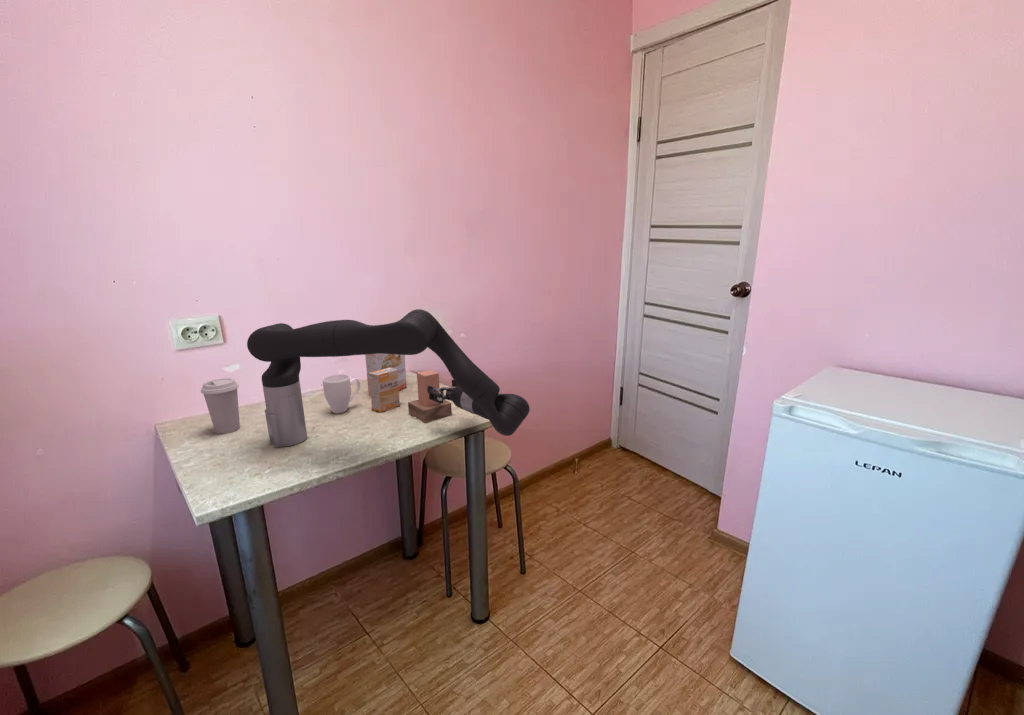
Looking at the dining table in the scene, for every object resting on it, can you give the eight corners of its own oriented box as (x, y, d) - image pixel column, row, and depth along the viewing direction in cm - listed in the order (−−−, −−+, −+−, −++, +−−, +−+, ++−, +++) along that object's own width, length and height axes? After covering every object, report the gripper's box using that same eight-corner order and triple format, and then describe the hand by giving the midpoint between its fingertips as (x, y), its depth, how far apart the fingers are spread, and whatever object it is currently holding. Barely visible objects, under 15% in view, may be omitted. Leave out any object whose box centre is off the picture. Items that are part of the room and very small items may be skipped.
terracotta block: (426, 406, 145) (424, 376, 142) (418, 402, 148) (416, 372, 146) (440, 402, 148) (438, 373, 145) (432, 398, 152) (430, 369, 149)
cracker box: (379, 398, 164) (374, 341, 159) (368, 395, 167) (362, 339, 162) (408, 388, 175) (404, 334, 170) (396, 385, 179) (392, 332, 173)
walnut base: (424, 422, 142) (423, 410, 141) (408, 413, 150) (407, 402, 149) (451, 414, 149) (451, 403, 148) (435, 406, 156) (434, 395, 155)
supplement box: (380, 413, 151) (377, 374, 147) (371, 410, 154) (368, 372, 150) (400, 405, 157) (397, 368, 154) (391, 403, 160) (388, 366, 157)
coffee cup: (212, 425, 142) (203, 379, 138) (247, 421, 146) (239, 375, 142) (205, 438, 134) (195, 389, 130) (243, 432, 137) (234, 384, 133)
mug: (333, 417, 147) (329, 383, 144) (322, 411, 153) (318, 378, 150) (367, 407, 156) (364, 375, 153) (355, 401, 161) (352, 370, 158)
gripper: (491, 380, 133) (459, 369, 145) (450, 392, 124) (419, 379, 136) (492, 405, 135) (460, 392, 147) (451, 418, 126) (421, 403, 138)
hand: (440, 385), depth 141 cm, fingers open, 8 cm apart
